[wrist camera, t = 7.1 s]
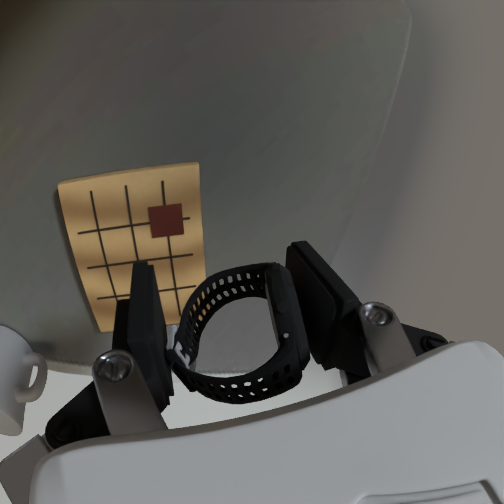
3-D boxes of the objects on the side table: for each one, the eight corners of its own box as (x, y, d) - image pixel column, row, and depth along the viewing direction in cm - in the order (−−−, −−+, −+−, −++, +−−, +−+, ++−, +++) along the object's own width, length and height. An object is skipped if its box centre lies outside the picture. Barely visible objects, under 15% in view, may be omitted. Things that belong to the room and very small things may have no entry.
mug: (-55, 392, 13) (-29, 325, 22) (-12, 433, 18) (2, 368, 27) (15, 399, 16) (36, 317, 25) (59, 440, 21) (66, 365, 30)
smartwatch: (275, 314, 13) (321, 401, 9) (161, 322, 12) (173, 427, 8) (293, 232, 11) (364, 314, 7) (156, 233, 10) (160, 338, 6)
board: (61, 181, 20) (56, 185, 19) (197, 161, 23) (199, 164, 22) (102, 324, 28) (100, 333, 27) (207, 311, 31) (210, 319, 30)
